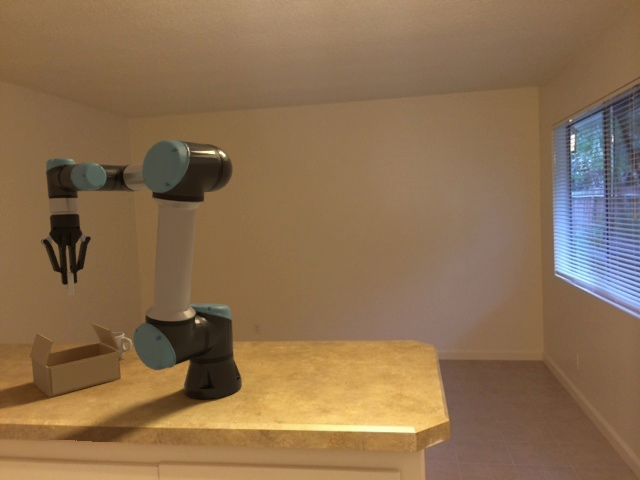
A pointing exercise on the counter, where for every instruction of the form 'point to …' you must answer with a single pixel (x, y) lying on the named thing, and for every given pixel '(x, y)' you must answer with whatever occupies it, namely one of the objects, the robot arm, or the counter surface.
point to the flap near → (41, 349)
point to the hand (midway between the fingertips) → (70, 295)
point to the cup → (120, 343)
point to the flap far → (105, 336)
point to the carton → (76, 369)
